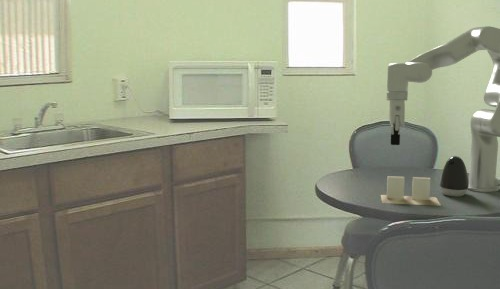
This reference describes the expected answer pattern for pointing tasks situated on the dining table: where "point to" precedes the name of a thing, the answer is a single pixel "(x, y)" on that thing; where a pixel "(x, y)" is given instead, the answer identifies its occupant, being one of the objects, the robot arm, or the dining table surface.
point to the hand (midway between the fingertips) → (395, 144)
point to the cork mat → (410, 201)
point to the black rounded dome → (454, 177)
